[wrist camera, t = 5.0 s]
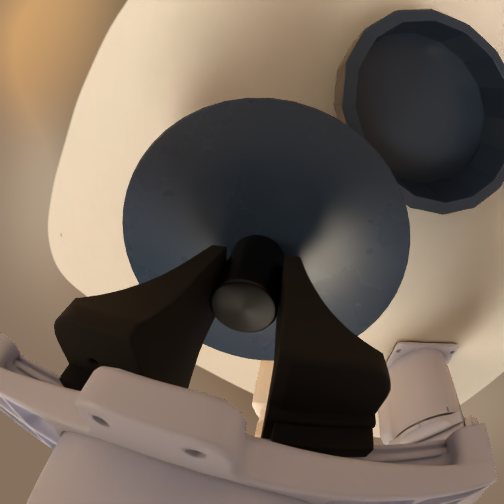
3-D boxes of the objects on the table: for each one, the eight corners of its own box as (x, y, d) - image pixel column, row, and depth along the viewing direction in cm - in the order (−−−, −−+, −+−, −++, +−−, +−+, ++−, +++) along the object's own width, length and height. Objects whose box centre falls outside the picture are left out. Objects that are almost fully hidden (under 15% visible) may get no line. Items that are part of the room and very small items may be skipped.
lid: (360, 358, 17) (366, 420, 13) (149, 324, 18) (118, 376, 14) (431, 128, 10) (488, 147, 6) (126, 99, 12) (59, 109, 8)
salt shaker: (296, 350, 29) (287, 432, 20) (305, 373, 30) (299, 449, 22) (259, 355, 30) (242, 433, 22) (271, 378, 31) (258, 451, 23)
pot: (471, 205, 19) (498, 228, 15) (325, 175, 20) (330, 194, 16) (492, 58, 12) (525, 56, 9) (339, 7, 14) (348, -14, 10)
